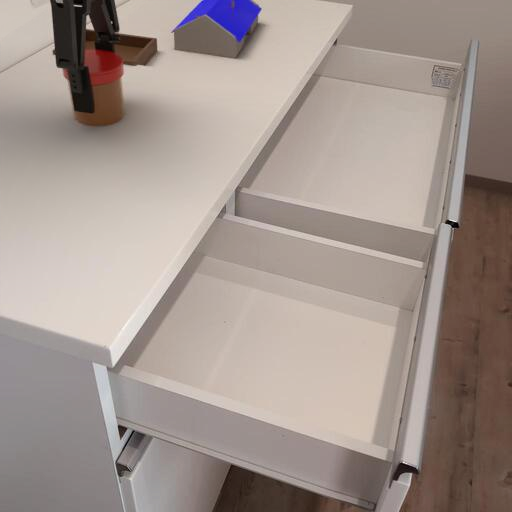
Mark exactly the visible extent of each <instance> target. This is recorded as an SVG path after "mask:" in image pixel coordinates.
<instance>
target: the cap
mask: <svg viewBox="0 0 512 512" xmlns="http://www.w3.org/2000/svg"><path fill="white" fill-rule="evenodd" d="M84 66H87V67H88V68H89V75H90V82H91V85H101V84H107V83H111V82H114V81H116V80H118V79H120V78H121V77H123V76H124V74H125V69H124V64H123V59H122V57H121V56H119V55H118V54H116V53H113V52H110V51H105V50H85V65H84ZM61 70H62V75H63V77H64V79H66V80H69V76H68V70H67V69H63V68H61Z"/></svg>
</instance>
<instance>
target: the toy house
mask: <svg viewBox="0 0 512 512" xmlns="http://www.w3.org/2000/svg"><path fill="white" fill-rule="evenodd" d="M262 10H263V8H262V7H260V4H258V3H257V2H256V1H254V0H200V1H199V3H198V4H197V5H196V6H195V7H194V8H193V9H192V10H191V11H190V12H189V13H188V14H187V15H186V16H185V17H184V19H182V20H181V21H180V22H179V23H178V24H177V25H176V27H175V28H174V29H172V31H170V33H173V42H174V43H173V44H174V50H176V51H182V52H183V51H184V52H190V53H195V54H196V53H197V54H203V55H211V56H218V57H224V58H232V59H236V58H237V56H238V55H239V53H240V51H241V50H242V49H243V47H244V45H245V36H246V34H251V35H252V33H253V31H254V29H255V27H256V26H258V24H259V14H260V13H261V12H262Z"/></svg>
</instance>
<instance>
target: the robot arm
mask: <svg viewBox="0 0 512 512" xmlns="http://www.w3.org/2000/svg"><path fill="white" fill-rule="evenodd" d="M49 2H50V7H51V18H52V19H51V20H52V21H51V22H52V31H53V44H54V49H55V55H54V56H55V66H56V68H57V69H62V68H63V69H67V70H68V76H69V82H70V88H71V94H72V100H73V106H74V111H77V112H84V113H91V114H93V113H94V112H95V110H94V103H93V96H92V89H91V82H90V75H89V68H88V67H87V66H84V65H85V42H86V29H87V17H88V18H89V20H90V23H91V26H92V28H93V30H94V31H95V34H96V36H97V39H100V41H96V42H94V43H95V50H105V51H110V52H113V53H115V48H114V43H113V41H114V42H119V41H120V35H118V34H115V33H120V23H119V17H118V11H117V5H116V1H115V0H49Z"/></svg>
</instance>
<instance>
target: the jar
mask: <svg viewBox="0 0 512 512" xmlns="http://www.w3.org/2000/svg"><path fill="white" fill-rule="evenodd" d="M122 77H123V76H122ZM122 77H121V78H120V79H118V80H116V81H114V82H111V83H107V84H101V85H91V89H92V96H93V103H94V110H95V112H94V113H93V114H91V113H84V112H77V111H74V106H73V100H72V94H71V88H70V82H69V80H67V79H66V80H67V87H68V92H69V93H68V94H69V99H70V104H71V111H72V115H73V116H72V117H73V119H74V120H75V121H76V122H77V123H79V124H82V125H85V126H91V127H103V126H104V127H105V126H110V125H113V124H116V123H118V122H121V121H122V120H123V119H124V118H125V116H126V108H125V97H124V89H123V80H122V79H123V78H122Z"/></svg>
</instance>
